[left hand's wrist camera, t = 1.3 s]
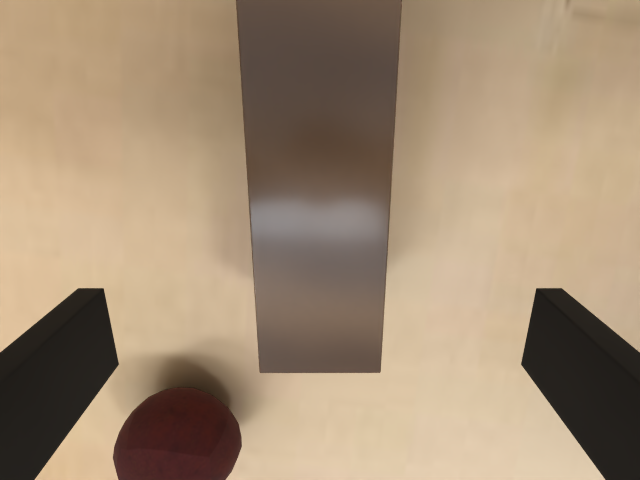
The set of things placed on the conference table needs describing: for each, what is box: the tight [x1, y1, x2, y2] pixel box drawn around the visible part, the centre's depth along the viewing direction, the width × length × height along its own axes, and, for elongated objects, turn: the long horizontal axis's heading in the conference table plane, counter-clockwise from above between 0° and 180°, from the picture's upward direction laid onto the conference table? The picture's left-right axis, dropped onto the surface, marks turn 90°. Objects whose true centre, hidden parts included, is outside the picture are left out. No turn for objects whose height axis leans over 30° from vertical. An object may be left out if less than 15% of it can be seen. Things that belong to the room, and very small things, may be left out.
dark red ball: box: [113, 387, 242, 480], centre depth 27 cm, size 7×8×7 cm
